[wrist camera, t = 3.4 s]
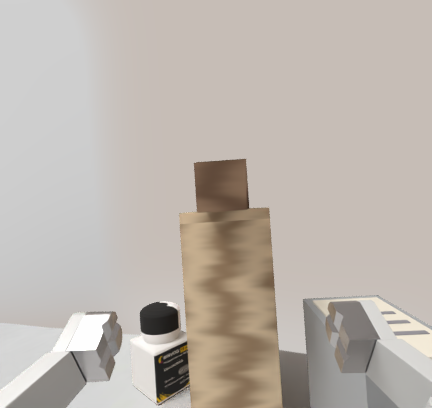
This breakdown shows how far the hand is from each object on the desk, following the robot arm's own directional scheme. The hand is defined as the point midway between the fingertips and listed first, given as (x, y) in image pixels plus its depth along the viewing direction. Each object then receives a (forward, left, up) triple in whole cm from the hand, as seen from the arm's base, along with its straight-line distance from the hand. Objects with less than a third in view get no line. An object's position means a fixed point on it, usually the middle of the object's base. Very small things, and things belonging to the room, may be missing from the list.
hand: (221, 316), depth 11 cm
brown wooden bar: (0, -20, +4) cm, 21 cm away
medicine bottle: (+11, -32, -22) cm, 41 cm away
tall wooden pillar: (0, -27, -22) cm, 35 cm away
